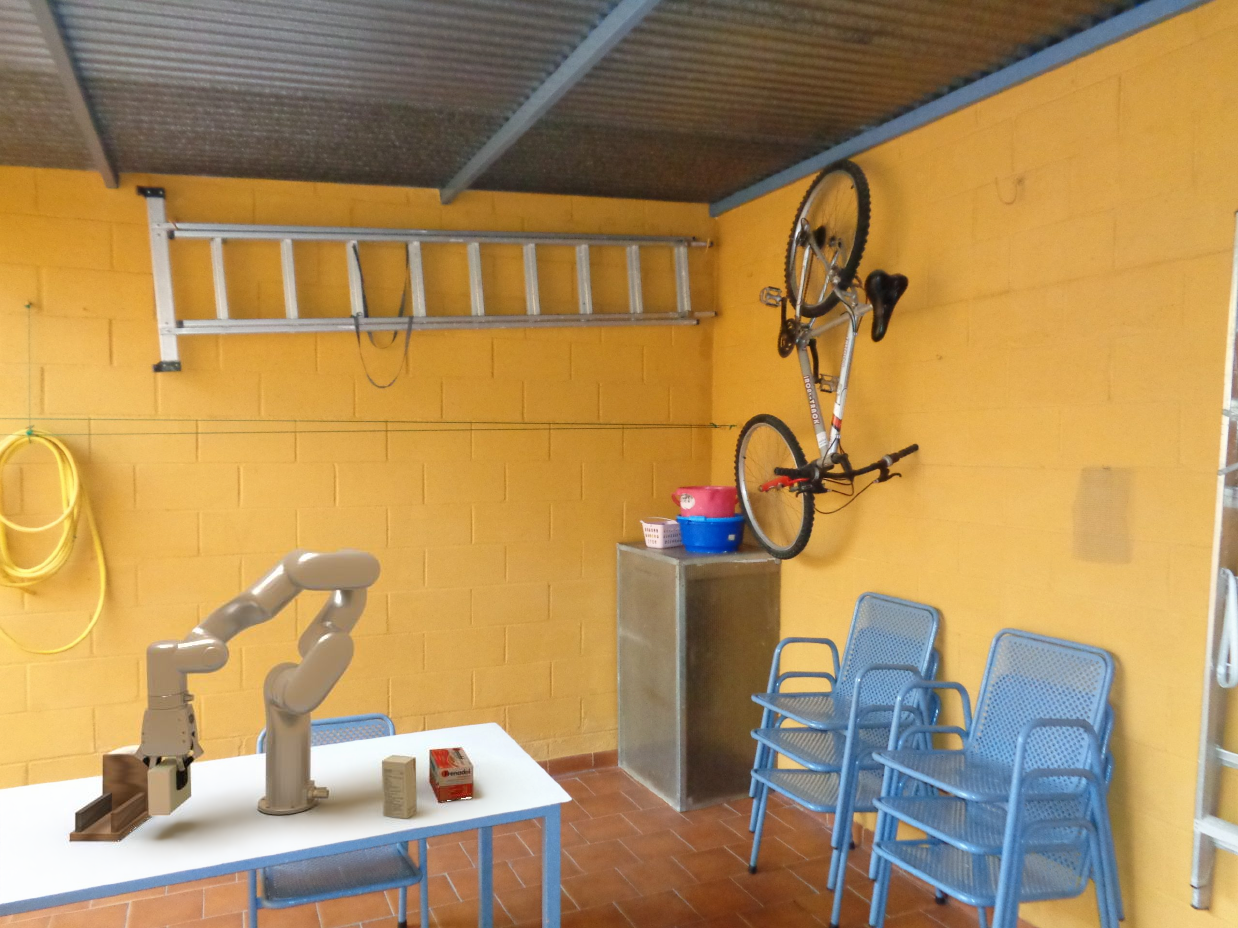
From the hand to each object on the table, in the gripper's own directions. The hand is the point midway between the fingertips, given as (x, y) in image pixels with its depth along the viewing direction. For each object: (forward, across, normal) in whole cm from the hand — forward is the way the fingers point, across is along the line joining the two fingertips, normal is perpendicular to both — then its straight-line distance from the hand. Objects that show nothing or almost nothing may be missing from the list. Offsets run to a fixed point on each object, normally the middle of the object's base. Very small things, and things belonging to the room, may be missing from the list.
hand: (170, 786), depth 192 cm
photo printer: (+9, +17, -16) cm, 25 cm away
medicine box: (+11, -54, -24) cm, 60 cm away
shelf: (+9, +13, -1) cm, 15 cm away
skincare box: (+10, -45, -9) cm, 47 cm away
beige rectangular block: (+4, 0, 0) cm, 4 cm away
